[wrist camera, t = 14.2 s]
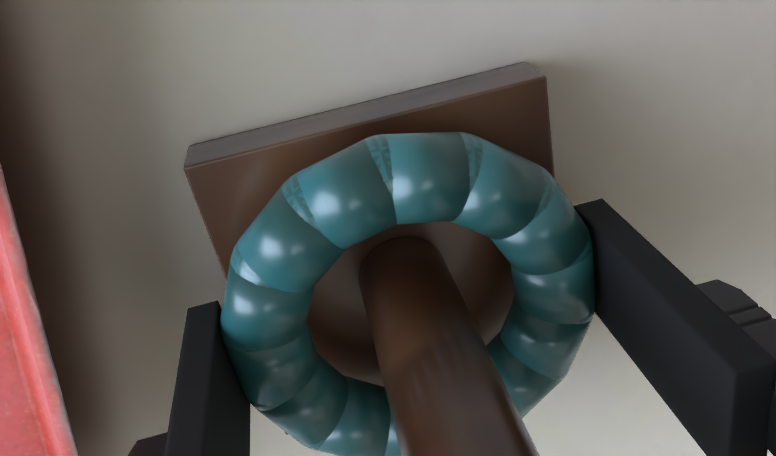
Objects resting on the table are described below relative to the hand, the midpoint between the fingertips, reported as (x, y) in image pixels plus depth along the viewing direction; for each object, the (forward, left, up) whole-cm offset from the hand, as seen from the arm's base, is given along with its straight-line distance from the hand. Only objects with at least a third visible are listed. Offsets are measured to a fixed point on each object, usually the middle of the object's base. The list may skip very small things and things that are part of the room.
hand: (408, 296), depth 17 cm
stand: (0, 0, -3) cm, 3 cm away
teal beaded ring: (0, 0, +1) cm, 1 cm away
